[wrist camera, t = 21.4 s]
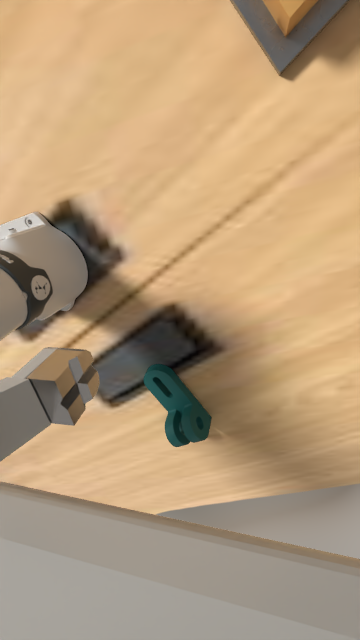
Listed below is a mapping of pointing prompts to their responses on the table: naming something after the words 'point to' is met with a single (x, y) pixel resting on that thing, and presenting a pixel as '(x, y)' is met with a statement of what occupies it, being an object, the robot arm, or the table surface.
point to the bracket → (178, 406)
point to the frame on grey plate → (286, 25)
